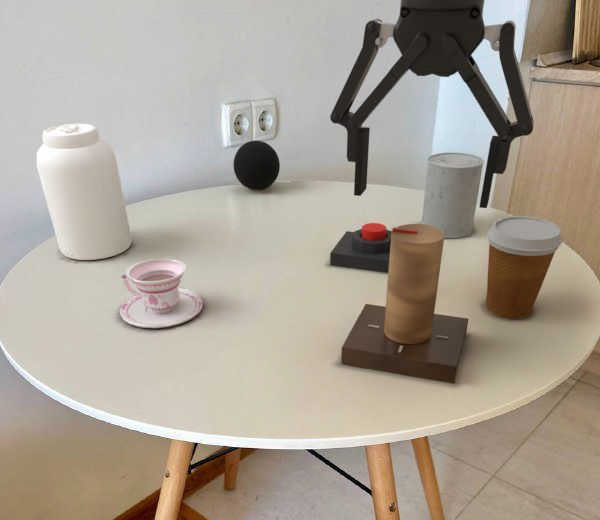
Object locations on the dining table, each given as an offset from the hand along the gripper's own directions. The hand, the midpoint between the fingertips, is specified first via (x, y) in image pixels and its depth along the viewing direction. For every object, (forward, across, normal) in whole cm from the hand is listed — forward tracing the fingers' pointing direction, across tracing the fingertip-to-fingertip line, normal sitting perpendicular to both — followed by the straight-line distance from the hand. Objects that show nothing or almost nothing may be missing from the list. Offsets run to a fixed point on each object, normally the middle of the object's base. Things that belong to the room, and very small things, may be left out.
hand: (420, 198), depth 65 cm
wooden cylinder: (+17, 0, 0) cm, 17 cm away
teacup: (+20, -36, 0) cm, 41 cm away
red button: (+16, -11, +27) cm, 33 cm away
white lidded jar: (+20, -59, +18) cm, 64 cm away
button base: (+20, -11, +27) cm, 35 cm away
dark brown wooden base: (+20, 0, 0) cm, 20 cm away
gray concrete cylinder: (+20, -1, +44) cm, 48 cm away
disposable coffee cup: (+20, +12, +16) cm, 28 cm away
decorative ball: (+20, -44, +56) cm, 74 cm away
